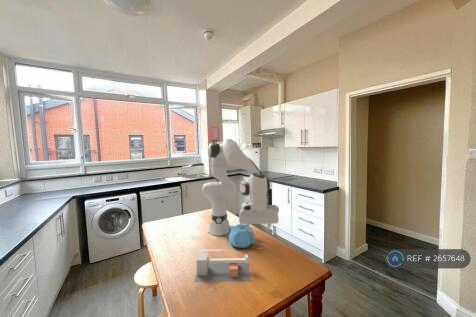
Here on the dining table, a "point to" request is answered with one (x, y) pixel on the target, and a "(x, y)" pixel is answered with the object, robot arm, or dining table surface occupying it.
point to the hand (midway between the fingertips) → (258, 231)
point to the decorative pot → (240, 236)
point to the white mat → (212, 250)
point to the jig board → (219, 271)
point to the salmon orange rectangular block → (233, 269)
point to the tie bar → (229, 260)
